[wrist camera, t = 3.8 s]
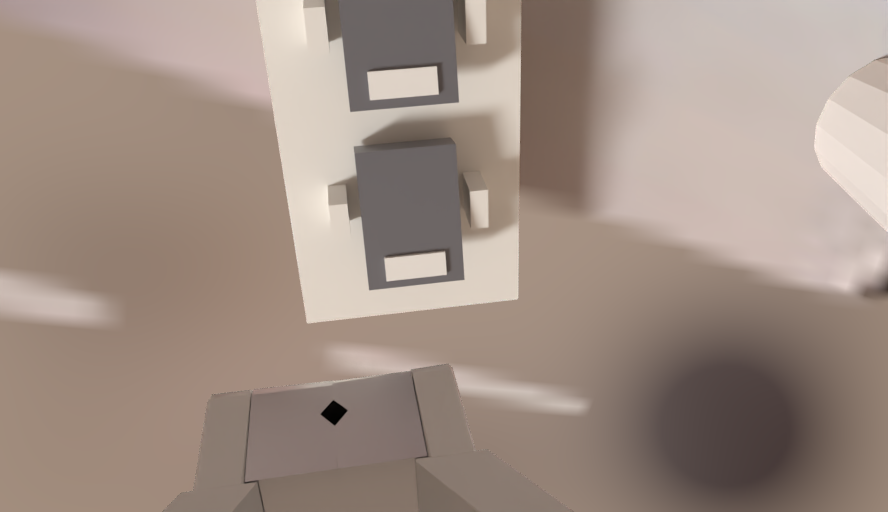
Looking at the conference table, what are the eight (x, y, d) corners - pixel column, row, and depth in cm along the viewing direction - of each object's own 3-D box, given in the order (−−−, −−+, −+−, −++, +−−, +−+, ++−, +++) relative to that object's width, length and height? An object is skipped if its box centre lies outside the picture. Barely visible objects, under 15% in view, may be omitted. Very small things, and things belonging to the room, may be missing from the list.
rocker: (450, 137, 26) (456, 144, 25) (459, 268, 27) (465, 281, 26) (353, 146, 25) (354, 154, 24) (367, 278, 27) (369, 291, 26)
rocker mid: (442, -63, 23) (449, -67, 21) (453, 97, 24) (460, 103, 23) (332, -56, 22) (331, -59, 21) (349, 106, 24) (350, 112, 23)
